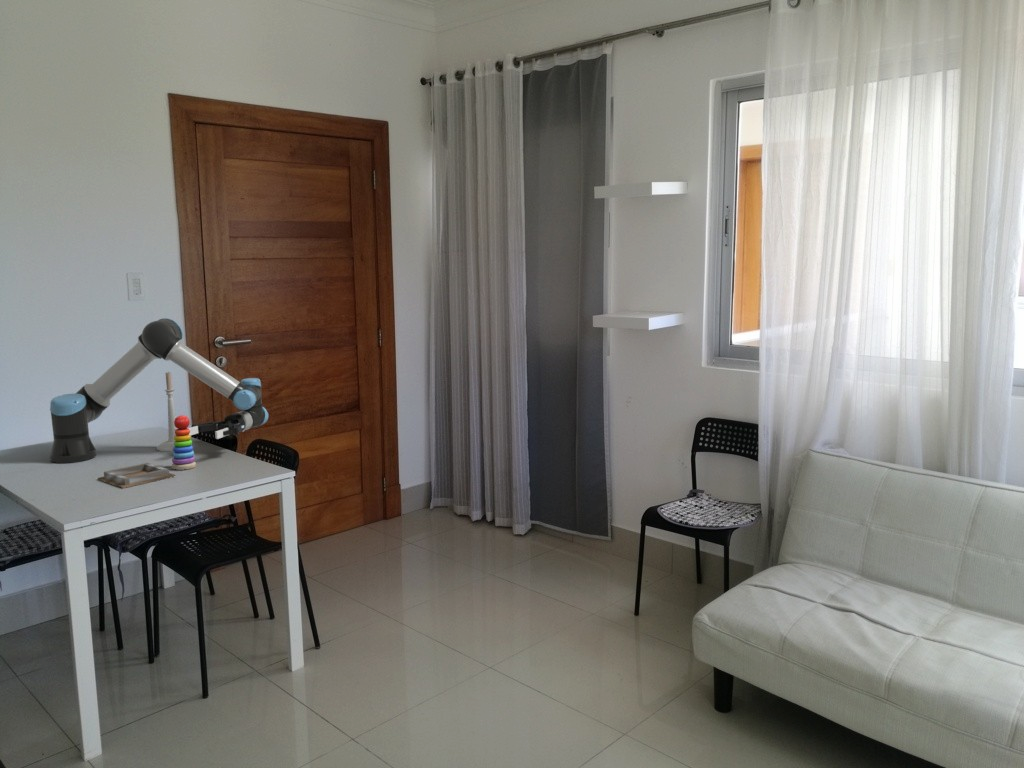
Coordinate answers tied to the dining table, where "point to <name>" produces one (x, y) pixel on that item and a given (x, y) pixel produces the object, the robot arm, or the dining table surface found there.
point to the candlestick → (169, 417)
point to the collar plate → (135, 475)
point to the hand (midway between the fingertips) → (200, 434)
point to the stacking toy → (183, 445)
